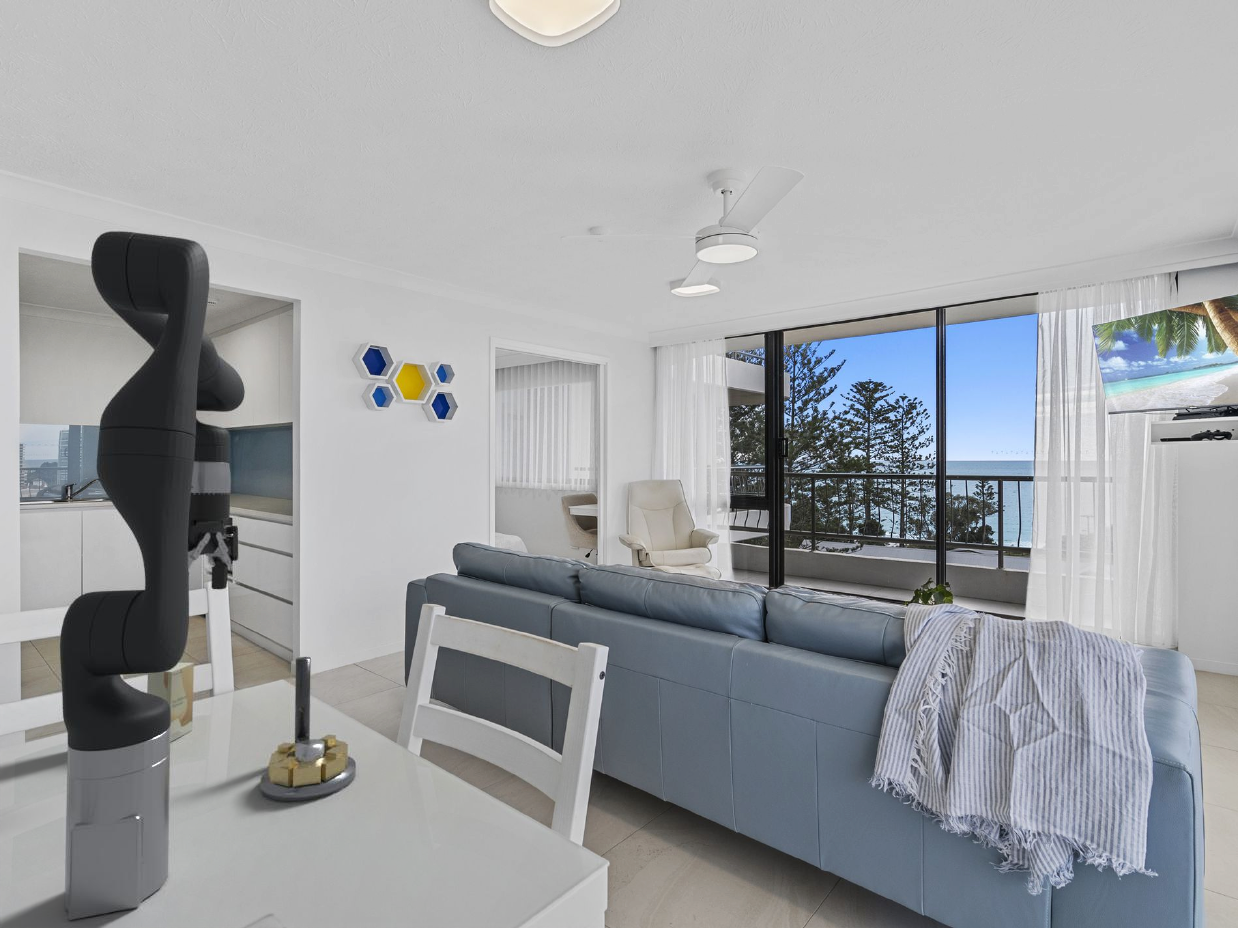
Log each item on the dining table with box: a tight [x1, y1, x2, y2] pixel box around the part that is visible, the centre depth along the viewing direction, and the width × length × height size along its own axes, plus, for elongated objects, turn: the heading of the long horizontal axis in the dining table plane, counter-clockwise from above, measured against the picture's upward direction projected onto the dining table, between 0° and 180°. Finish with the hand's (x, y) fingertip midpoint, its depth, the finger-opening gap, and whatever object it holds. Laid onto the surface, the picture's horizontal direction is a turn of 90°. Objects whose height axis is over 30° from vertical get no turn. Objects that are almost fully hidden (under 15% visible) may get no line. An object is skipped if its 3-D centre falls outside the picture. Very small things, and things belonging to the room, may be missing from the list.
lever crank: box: [268, 656, 349, 787], centre depth 103 cm, size 16×11×14 cm, turn 21°
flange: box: [260, 738, 357, 804], centre depth 100 cm, size 13×13×6 cm
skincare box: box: [146, 662, 195, 743], centre depth 117 cm, size 6×4×12 cm
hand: (200, 592), depth 106 cm, fingers open, 8 cm apart
